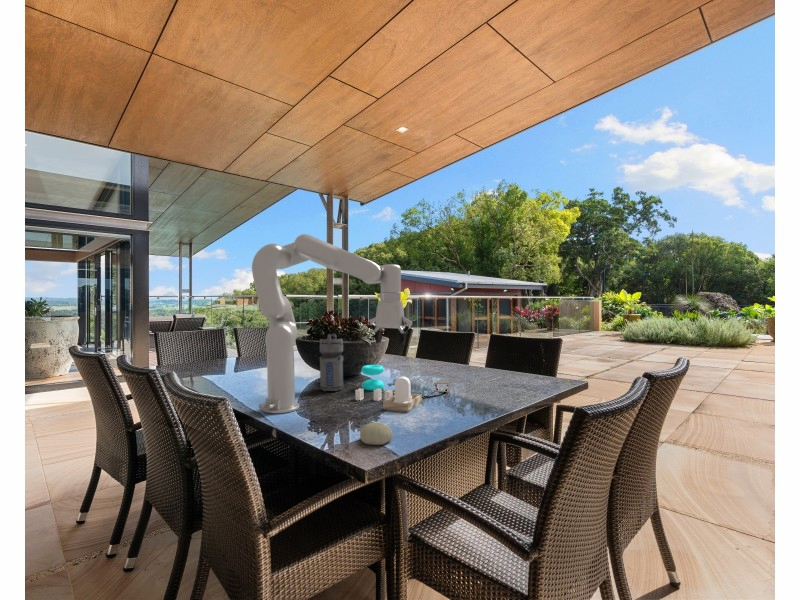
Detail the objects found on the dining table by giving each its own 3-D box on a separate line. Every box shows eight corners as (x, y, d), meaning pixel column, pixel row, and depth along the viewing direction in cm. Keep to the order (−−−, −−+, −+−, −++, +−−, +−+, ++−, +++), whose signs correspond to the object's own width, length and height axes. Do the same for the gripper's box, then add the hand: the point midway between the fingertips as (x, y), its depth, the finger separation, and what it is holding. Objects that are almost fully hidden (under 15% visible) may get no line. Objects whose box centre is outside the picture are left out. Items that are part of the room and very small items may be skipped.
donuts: (360, 364, 184) (382, 363, 185) (361, 386, 184) (383, 385, 185) (361, 368, 174) (384, 367, 175) (362, 391, 174) (385, 390, 176)
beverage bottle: (346, 386, 185) (345, 331, 185) (341, 392, 172) (340, 334, 172) (324, 386, 185) (323, 331, 185) (317, 393, 172) (316, 334, 172)
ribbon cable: (450, 401, 156) (449, 384, 186) (450, 399, 156) (449, 382, 186) (376, 401, 159) (386, 384, 189) (376, 399, 159) (386, 382, 189)
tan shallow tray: (407, 412, 141) (407, 403, 141) (383, 409, 145) (382, 401, 145) (422, 402, 154) (422, 394, 154) (399, 400, 158) (399, 392, 158)
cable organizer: (412, 401, 154) (412, 375, 154) (407, 408, 144) (406, 380, 144) (398, 400, 155) (398, 374, 155) (392, 407, 145) (392, 379, 145)
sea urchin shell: (382, 426, 120) (390, 411, 115) (390, 451, 116) (400, 437, 111) (353, 431, 116) (360, 416, 111) (361, 457, 111) (369, 443, 106)
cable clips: (387, 403, 154) (387, 392, 154) (355, 400, 159) (355, 389, 159) (393, 400, 158) (393, 390, 158) (361, 397, 164) (361, 387, 164)
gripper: (365, 297, 151) (365, 342, 152) (408, 297, 144) (407, 345, 144) (374, 297, 158) (374, 341, 158) (415, 297, 151) (415, 343, 151)
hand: (390, 343), depth 151 cm, fingers open, 9 cm apart
